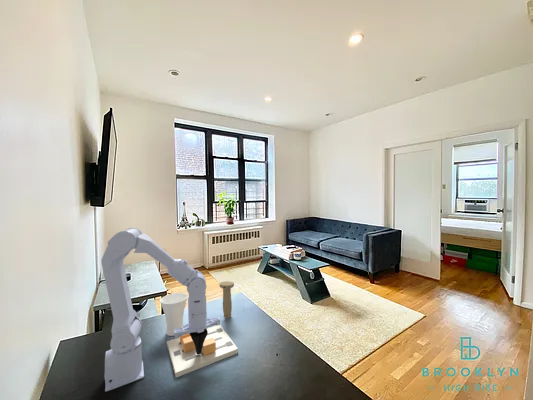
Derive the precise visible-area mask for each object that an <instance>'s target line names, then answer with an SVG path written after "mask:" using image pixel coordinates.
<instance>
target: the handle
mask: <svg viewBox="0 0 533 400" xmlns="http://www.w3.org/2000/svg"><path fill="white" fill-rule="evenodd" d="M234 287H235V282H234V281H229V280H228V281H221V282H219V288H221V289H222V313H223V317H224V318H225V319H229V318H231V317H232V310H233V309H232V308H233V306H232V305H233V304H232V303H233V301H232V288H234Z"/></svg>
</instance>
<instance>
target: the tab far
mask: <svg viewBox="0 0 533 400" xmlns="http://www.w3.org/2000/svg"><path fill="white" fill-rule="evenodd" d="M187 337H190V334H186V335H183V336H180V342H181V345H182V339H184V338H187Z"/></svg>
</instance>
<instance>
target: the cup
mask: <svg viewBox="0 0 533 400" xmlns="http://www.w3.org/2000/svg"><path fill="white" fill-rule="evenodd" d="M188 298H189V294H187V293H186V292H173V293H169V294H167V295H164V296H162V297H161V298H160V299H159V303H160V305H161V307H162V310H163V312H164V317H165V323H166V332H165V334H166V335H167V336H169V337H174V330H176V329H178V328H181V327H183V326H184V312H185V308H186V305H187V302H188Z"/></svg>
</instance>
